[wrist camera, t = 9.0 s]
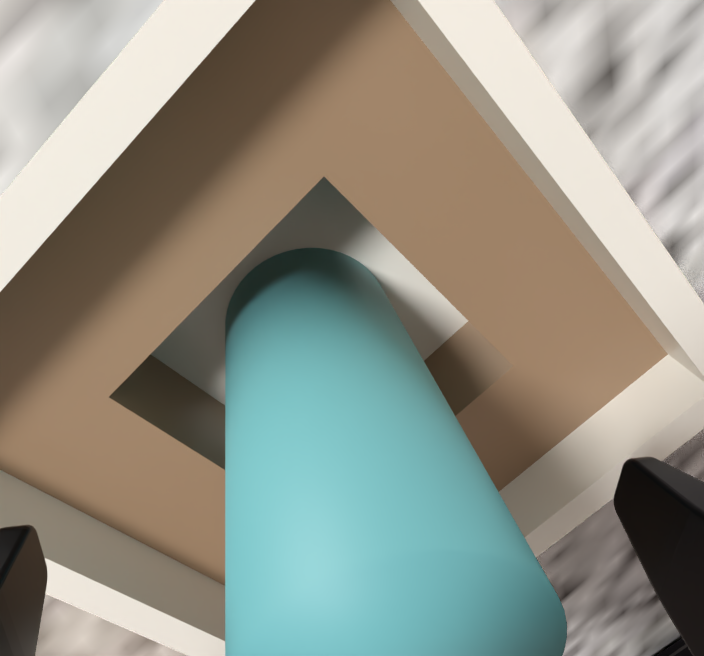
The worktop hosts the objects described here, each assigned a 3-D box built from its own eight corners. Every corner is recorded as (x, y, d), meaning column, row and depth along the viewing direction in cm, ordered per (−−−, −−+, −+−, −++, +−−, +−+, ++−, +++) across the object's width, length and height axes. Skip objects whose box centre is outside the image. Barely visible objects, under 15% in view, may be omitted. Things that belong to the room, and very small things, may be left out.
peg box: (625, 291, 17) (760, 385, 13) (306, 562, 20) (329, 717, 16) (299, -129, 12) (344, -215, 7) (-91, 331, 14) (-232, 473, 10)
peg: (384, 388, 16) (536, 746, 8) (231, 400, 15) (236, 804, 8) (392, 244, 14) (599, 528, 6) (219, 251, 14) (210, 578, 6)
